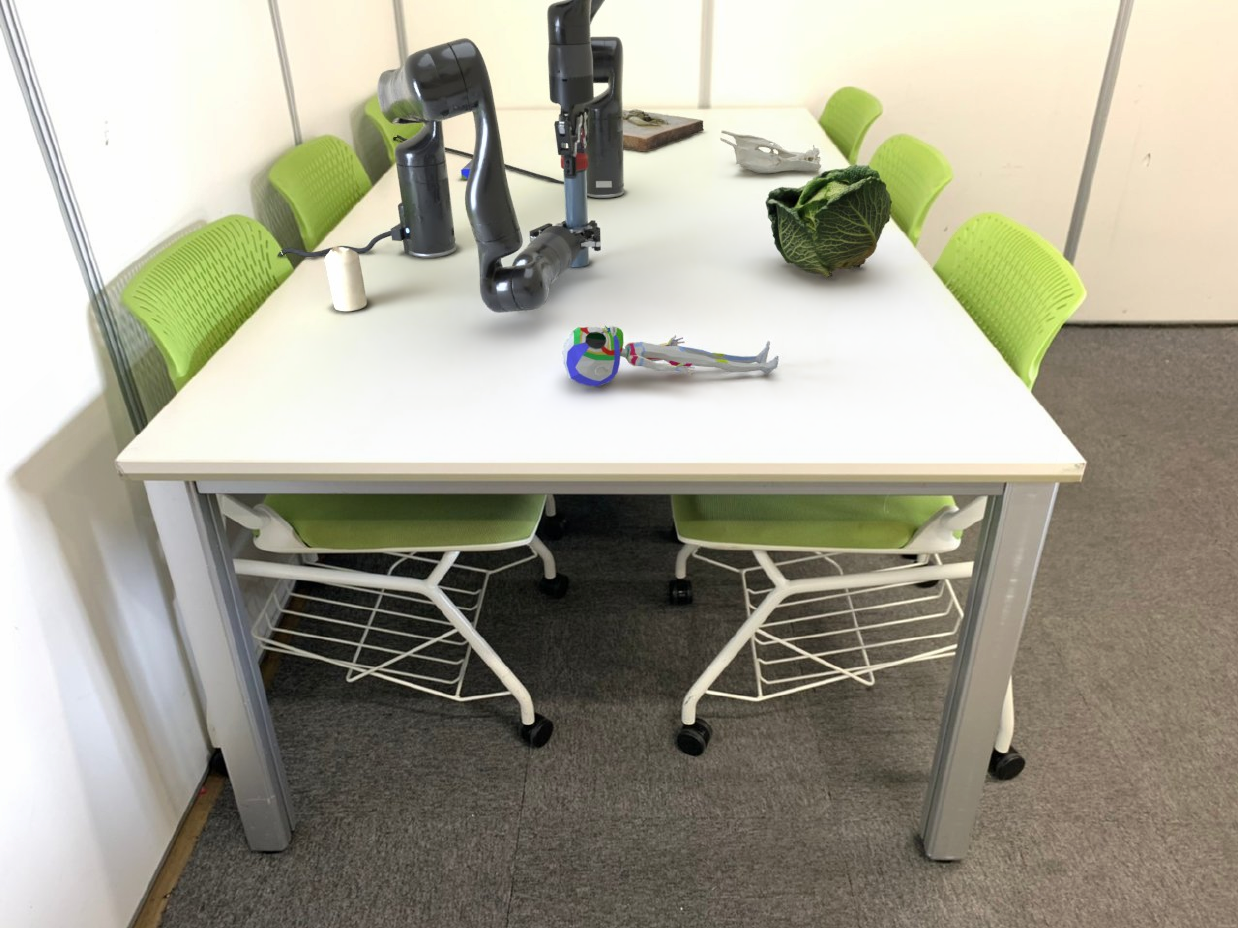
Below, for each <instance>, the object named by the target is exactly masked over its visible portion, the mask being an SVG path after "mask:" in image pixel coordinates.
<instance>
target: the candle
mask: <svg viewBox="0 0 1238 928" xmlns="http://www.w3.org/2000/svg"><path fill="white" fill-rule="evenodd" d="M331 248H332V247H331ZM324 262H325V269H326V273H327V278H328V284H329V289H330V295H331V298H332V304H333V307H334V309H335V310H337V311H340V312H352V311H358V310H361V309H363V308H365V307H366V306H367V304H368V300H367V294H366V288H365V282H364V276H363V271H362V264H361V260H360V253H356V252H355V251H353V250H351V249H347V248H344V247H337V246H333V248H332V249H331V250H330V252H329V253H328V254H326V255H325V257H324Z"/></svg>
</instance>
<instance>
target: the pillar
mask: <svg viewBox="0 0 1238 928" xmlns="http://www.w3.org/2000/svg"><path fill="white" fill-rule="evenodd" d="M471 164H472V159H471V160H469V162H468V163H467V164H466V165H464V166H463V167H462V169H461V170H460V173H461V176H460V177H461V180H468V176H469V172H470V168H471Z"/></svg>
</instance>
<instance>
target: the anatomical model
mask: <svg viewBox="0 0 1238 928" xmlns="http://www.w3.org/2000/svg"><path fill="white" fill-rule="evenodd" d="M720 133H721V134H724V135H728V136H731V137H733V138H734V140H735V143H734V142H731V141H729V140H728V139H725V138H722V137H720V141H721V142H723V143H725V144H727V145H729V146H732V147H733V149H734V150H733V151H734V154H735V160H736V161H735V164H736V165H739V166H740V168H742V169H744V170H751V171H752V172H754V173H757V174H774V173H779V172H784V171H805V172H813V171H818V170H820V169H821V168H822V164H821V163H820V162H821V156H819V155H820V153H821V152H820V149H819V148H816V147H815V145H812V149H808V150H807V151H806V152H799V151H789V150H786V149H784V148H783V146H781V145H780V144H778V143H776V142H774V141H771V140H768V139H766V138H763V137H760V136H754V135H750V134H738V133H735V132H730V131H727V130H721V132H720ZM760 148H767V149H769V150H770V151H769V152H766V151H764V150H762V149H760ZM774 150H776V151H777V153H775V152H774Z"/></svg>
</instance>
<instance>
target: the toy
mask: <svg viewBox="0 0 1238 928" xmlns="http://www.w3.org/2000/svg"><path fill="white" fill-rule="evenodd" d="M682 339H684V337H680V338H677V335H676V334H675V335H674V336H673V337H671V338H670V339H669V340H668V342H664V343H660V344H659V343H658V344H654V343H649V342H645V341H637V342H633V341H632V342H627V343H626V344H625V346H624V332H623V330H622V329H621V328H620V327H617V326H613V325H610V326H609V327H608V326H606V325H604V327H597V326H585V327H581V326H578V327H576V328H575V329H574V330H572V332H571V334H570V335H569V336H568V337H567V338H566V340H565V342H564V343H563V348H562V352H561V354H562V361H563V365H564V369H565V372H566V375H567V377H568V378H569V379H571V380H573V381H574V382H576V383H578V384H582V385H585V386H589V387H600V386H602V385H605V384H607V383H609V382H612V380H613V379H614V378H615V377H616V376H617V374H618V371H619V368H620V365H621V364H620V362H621V357H622V358H625V359H626V361H627V362H628V364H629V365H630V366H633V367H641V368H642V367H643V368H646V369H650V370H654V371H655V372H661V373H670V372H679V373H685V374H689V375H692V376H693V375H694V374H693V373H695V374H697V370H693V369H695V367H703V368H715V369H718V370H719V369H720V370H723V371H725V372H726V371H727V372H729V373H748V372H755V371H761V372H764V373H765V374H770V373H771V372H772V371H774V370H776V369H777V368H778V364H779V358H780V357H779V355H776V356H775V357H774V358H772V360H769V361H768V362H767V360H768V354H769V351H770V346H771V341H769V340H768V341H767V343H766V344H765V346H764V348H763V349H762V350H761V351H760V352H759V353H758V354H757V355H744V356H743V355H734V354H727V353H720V352H710V351H707V350H704V349H699V348H694V347H688V346H680V345H679V344H685V343H686V342H685V341H681V340H682ZM623 347H624V348H623ZM658 361H659V362H658ZM660 361H664V362H666V363H662V362H661V363H660ZM667 363H668V364H667Z"/></svg>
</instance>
